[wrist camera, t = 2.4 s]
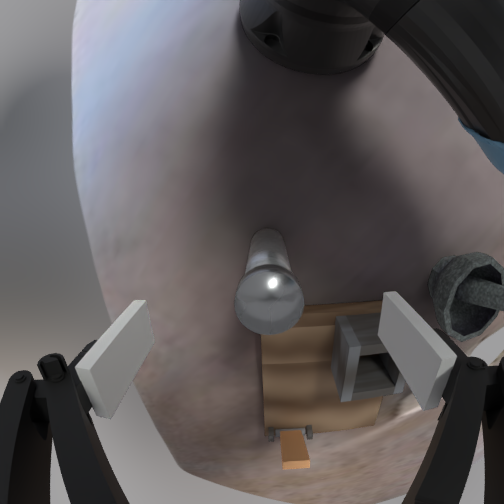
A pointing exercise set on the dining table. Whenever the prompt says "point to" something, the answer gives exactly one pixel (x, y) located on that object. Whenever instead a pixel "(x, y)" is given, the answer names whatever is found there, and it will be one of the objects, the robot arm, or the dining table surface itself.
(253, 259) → the pin
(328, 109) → the dining table surface
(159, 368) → the dining table surface
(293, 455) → the strip
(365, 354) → the hitch board
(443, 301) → the mortar and pestle
